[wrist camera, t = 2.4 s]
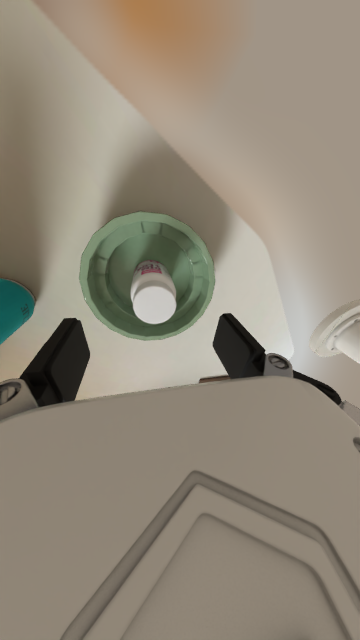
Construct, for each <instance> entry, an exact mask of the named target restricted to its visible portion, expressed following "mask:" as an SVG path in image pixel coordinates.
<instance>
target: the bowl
mask: <svg viewBox="0 0 360 640" xmlns="http://www.w3.org/2000/svg"><path fill="white" fill-rule="evenodd" d="M146 260H156V261H158V262H160V263H162V264H163V265H164V266H165V267H166V269H167V270H168V272H169V274H170V277H171V279H172V281H173V283H174V286H175V289H176V310H175V312H174V314H173V315H172V316H171V317H170V318H169V319H168V320H167V321H165V322H162V323H158V324H150V323H146V322H144V321H142V320H141V319H139V318H138V317H137V315H136V314H135V312H134V310H133V302H132V300H131V285H132V280H133V274H134V271H135V268H136V267H137V266H138V265H139V264H140V263H141V262H143V261H146ZM79 280H80V284H81V288H82V292H83V296H84V299H85V301H86V303H87V304H88V306H89V307H90V309H91V310H92V312H93V313H94V315H95V316H96V318H97V319H99V320H100V321H101V322H102V323H103V324H105V325H106V326H107V327H108V328H109V329H111V330H113V331H115V332H117V333H119V334H121V335H123V336H126V337H128V338H133V339H139V340H144V341H146V340H162V339H165V338H168V337H172V336H175V335H177V334H179V333H181V332H183V331H184V330H186V329H188V328H189V327H191V326H192V325H193V324H194V323H195V322H196V321H197V320H198V319H199V318H200V317H201V316H202V315H203V314H204V312H205V310H206V308H207V306H208V305H209V303H210V301H211V299H212V294H213V290H214V285H215V274H214V264H213V260H212V258H211V256H210V254H209V251H208V249H207V247H206V245H205V243H204V241H203V240H202V239H201V238H200V237H199V236H198V235H197V234H196V233H195V232H194V231H193V230H192V229H191V227H190V226H188V225H187V224H185V223H183V222H181V221H179V220H177V219H175V218H173V217H171V216H169V215H167V214H161V213H153V212H144V211H138V212H134V213H131V214H127V215H123V216H120V217H116V218H114V219H112V220H111V221H110V222H108V223H107V224H106V225H104V226H103V227H102V228H101V229H99V230H98V231H97V232H95V233H94V234H93V236H92V238H91V239H90V241H89V243H88V245H87V247H86V249H85V250H84V252H83V254H82V257H81V266H80V274H79Z"/></svg>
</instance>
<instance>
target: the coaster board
mask: <svg viewBox="0 0 360 640" xmlns="http://www.w3.org/2000/svg"><path fill="white" fill-rule="evenodd" d="M230 379H231V378H230V377H229V376H224V377H215V378H207V379H200V381H199V383H206V382H214V381H222V380H230Z"/></svg>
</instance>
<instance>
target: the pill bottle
mask: <svg viewBox="0 0 360 640" xmlns="http://www.w3.org/2000/svg"><path fill="white" fill-rule="evenodd" d="M131 300H132V302H133V310H134V312H135V314H136V315H137V317H138V318H139V319H141V320H142V321H144V322H146V323H150V324H158V323H162V322H165V321H167V320H168V319H169V318H170V317H171V316H172V315H173V314H174V312H175V310H176V289H175V286H174V283H173V281H172V279H171V277H170V274H169V272H168V270H167V269H166V267H165V266H164V265H163V264H162V263H160V262H158V261H156V260H146V261H143V262H141V263H140V264H139V265H138V266H137V267H136V268H135V271H134V274H133V280H132V285H131Z"/></svg>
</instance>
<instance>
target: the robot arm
mask: <svg viewBox="0 0 360 640" xmlns="http://www.w3.org/2000/svg"><path fill="white" fill-rule="evenodd" d="M325 345H326V348H327V349H328V350H330V351H331V352H340V351H341V352H343V353H344V354H346V355H347V356H349V357H350V358H352V359H353V360H355V361H356V362H358V363H359V364H360V314H357V315H355V316H352V317H350V318H348V319H347V320H345V321H343V322H342V323H341V324H339V325H338V326H337V327H336V328H335V329H334V330H333V331H332V332H331V333H330V335H329V336H328V338H327V340H326V343H325ZM213 348H214V350H215V351H216V353H217V355H218V357H219V359H220V360H221V362H222V364H223V366H224V368H225V369H226V371H227V373H228V375H229V377H230V378H231V379H230V380H222V381H214V382H206V383H198V384H191V385H183V386H176V387H168V388H161V389H153V390H146V391H139V392H132V393H124V394H117V395H110V396H103V397H96V398H89V399H83V400H76V401H74V400H75V398H76V395H77V392H78V389H79V386H80V384H81V381H82V378H83V375H84V372H85V369H86V367H87V364H88V361H89V358H90V351H89V348H88V344H87V341H86V338H85V334H84V331H83V328H82V324H81V321H80V320H77V319H76V318H65V319H63V321H62V322H61V323H60V325H59V326H58V327H57V329H56V330H55V332H54V333H53V334H52V336H51V337H50V338H49V340H48V341H47V342H46V343H45V344H44V345H43V347H42V348H41V349H40V351H39V352H38V353H37V355H36V356H35V358H34V359H33V360H32V362H31V363H30V364H29V366H28V367H27V368H26V370H25V371H24V372H23V374H22V375H21V376H20V378H16V379H9V380H5V381H2V382H0V640H360V409H359V408H357V407H355V406H354V405H352V404H350V403H349V402H347V401H346V400H345V401H343V402H342V401H341V398H340V397H339V395H338V394H337V393H336V391H335V390H333V389H332V388H331V387H329V386H328V385H326V384H324V383H322V382H320V381H317V380H315V379H313V378H310V377H308V376H306V375H303V374H301V373H299V372H296V371H294V370H293V369H292V365H291V363H290V362H289V361H288V360H287V359H286V358H284V357H283V356H281V355H278V354H275V353H269V354H267V355H266V354H265V353H264V352H265V349H264V348H263V347H262V346H261V345H260V344H259V343H258V342H257V341H256V339H255V338H254V337H253V336H252V335H251V334H250V333H249V332H248V331H247V330H246V329H245V328H244V327H243V326H242V324H241V323H240V322H239V321H238V320H237V319H236V318H235V317H234V316H233V315H232V314H231V313H226V314H222V316H220V318H219V322H218V326H217V329H216V333H215V337H214V341H213Z"/></svg>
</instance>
